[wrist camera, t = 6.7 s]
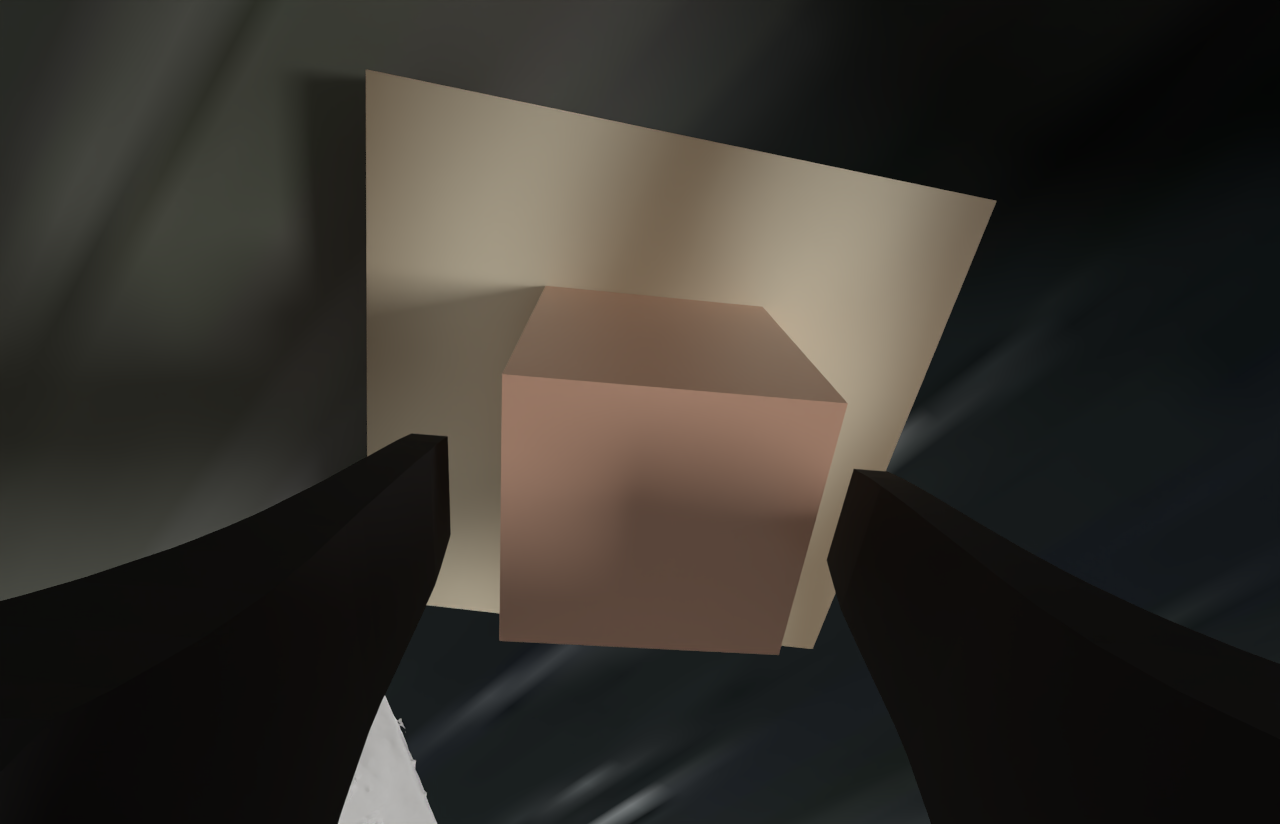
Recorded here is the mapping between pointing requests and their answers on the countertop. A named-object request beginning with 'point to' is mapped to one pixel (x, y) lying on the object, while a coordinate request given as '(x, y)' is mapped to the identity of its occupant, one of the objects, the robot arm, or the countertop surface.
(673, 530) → the block
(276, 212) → the countertop surface
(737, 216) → the base
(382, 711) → the terrain model
